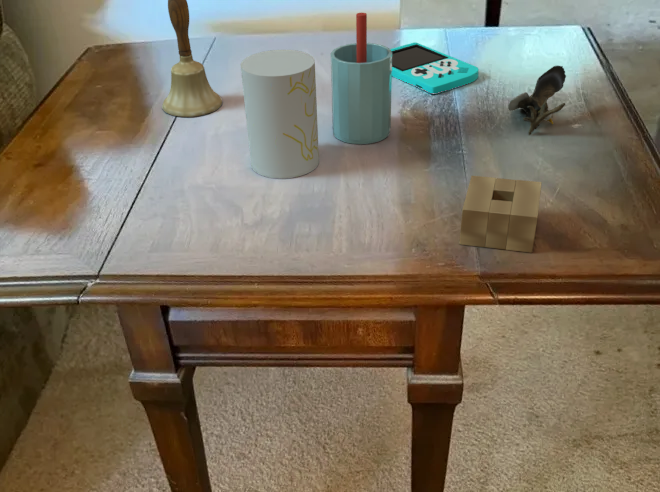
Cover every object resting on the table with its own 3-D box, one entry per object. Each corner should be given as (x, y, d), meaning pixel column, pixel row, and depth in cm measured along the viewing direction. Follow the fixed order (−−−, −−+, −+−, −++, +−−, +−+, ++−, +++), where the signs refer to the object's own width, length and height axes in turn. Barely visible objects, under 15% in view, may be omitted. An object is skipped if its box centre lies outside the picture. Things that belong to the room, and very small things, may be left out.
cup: (304, 182, 87) (298, 79, 79) (239, 173, 89) (228, 72, 82) (328, 151, 93) (325, 52, 85) (267, 143, 95) (258, 47, 88)
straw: (367, 126, 97) (367, 12, 88) (365, 130, 96) (365, 15, 87) (358, 126, 97) (357, 12, 88) (356, 129, 96) (355, 15, 87)
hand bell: (229, 110, 104) (215, -13, 94) (169, 121, 102) (148, -4, 92) (214, 89, 110) (199, -29, 100) (157, 99, 108) (136, -21, 98)
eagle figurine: (579, 129, 92) (577, 87, 98) (553, 84, 88) (553, 43, 94) (520, 154, 96) (522, 113, 102) (494, 112, 93) (497, 72, 98)
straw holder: (536, 216, 79) (541, 182, 77) (532, 253, 74) (537, 217, 71) (468, 209, 81) (471, 175, 78) (459, 244, 76) (462, 209, 73)
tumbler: (395, 122, 99) (397, 44, 92) (383, 146, 93) (384, 65, 87) (341, 118, 100) (339, 41, 94) (326, 141, 95) (323, 61, 89)
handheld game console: (431, 96, 105) (432, 86, 104) (362, 63, 116) (362, 54, 115) (486, 78, 109) (486, 69, 108) (414, 49, 120) (415, 40, 119)
